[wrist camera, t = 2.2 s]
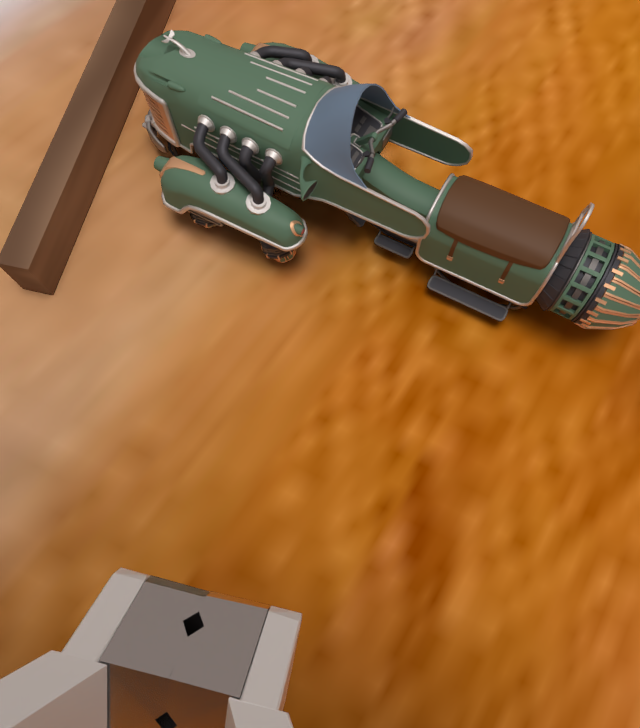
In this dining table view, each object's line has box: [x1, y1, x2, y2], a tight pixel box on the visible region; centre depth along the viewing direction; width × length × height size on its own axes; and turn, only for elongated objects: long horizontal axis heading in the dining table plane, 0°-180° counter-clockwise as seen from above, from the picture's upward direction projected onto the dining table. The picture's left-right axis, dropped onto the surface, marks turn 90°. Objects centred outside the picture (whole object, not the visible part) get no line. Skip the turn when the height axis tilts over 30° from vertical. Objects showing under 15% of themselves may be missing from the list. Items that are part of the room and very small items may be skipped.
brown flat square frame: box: [0, 0, 176, 295], centre depth 31 cm, size 30×32×3 cm
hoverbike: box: [134, 30, 640, 330], centre depth 26 cm, size 10×25×8 cm, turn 61°
